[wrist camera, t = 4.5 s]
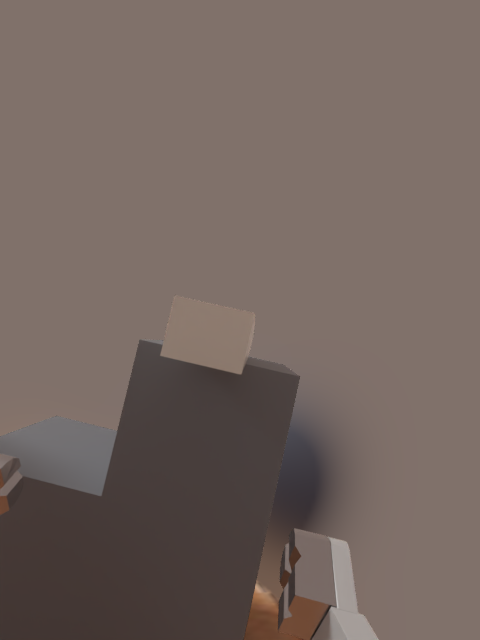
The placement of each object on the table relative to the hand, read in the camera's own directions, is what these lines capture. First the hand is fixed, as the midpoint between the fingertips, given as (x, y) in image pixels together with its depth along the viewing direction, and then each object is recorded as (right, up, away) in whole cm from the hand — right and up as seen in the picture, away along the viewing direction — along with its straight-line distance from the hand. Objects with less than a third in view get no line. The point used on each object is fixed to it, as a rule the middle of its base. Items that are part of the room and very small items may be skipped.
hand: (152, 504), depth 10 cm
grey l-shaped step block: (-10, -22, +21) cm, 32 cm away
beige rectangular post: (+1, +2, +17) cm, 17 cm away
